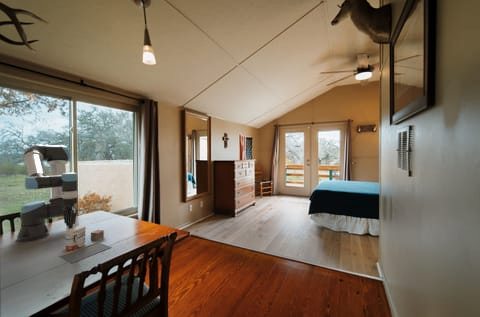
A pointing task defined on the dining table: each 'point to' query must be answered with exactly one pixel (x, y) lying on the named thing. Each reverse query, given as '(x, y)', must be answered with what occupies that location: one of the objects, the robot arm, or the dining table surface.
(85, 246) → the oak strip
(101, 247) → the mat
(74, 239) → the ink box
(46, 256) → the dining table surface
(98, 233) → the walnut block
